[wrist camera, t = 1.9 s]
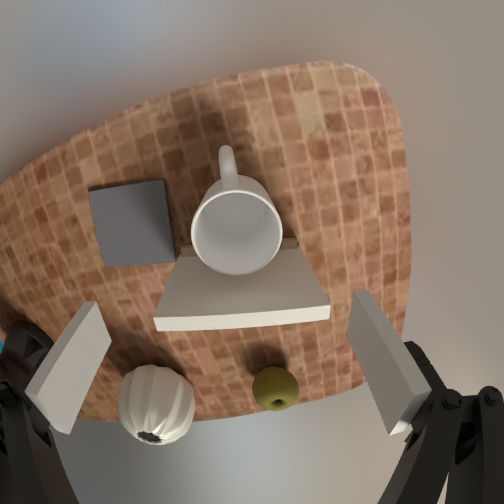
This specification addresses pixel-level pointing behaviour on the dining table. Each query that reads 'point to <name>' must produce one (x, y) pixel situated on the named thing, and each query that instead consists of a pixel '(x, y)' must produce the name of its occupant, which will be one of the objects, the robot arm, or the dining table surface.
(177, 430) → the vase
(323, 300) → the screen
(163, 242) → the pad
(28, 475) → the robot arm
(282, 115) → the dining table surface
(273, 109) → the dining table surface
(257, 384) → the apple
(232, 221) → the mug
